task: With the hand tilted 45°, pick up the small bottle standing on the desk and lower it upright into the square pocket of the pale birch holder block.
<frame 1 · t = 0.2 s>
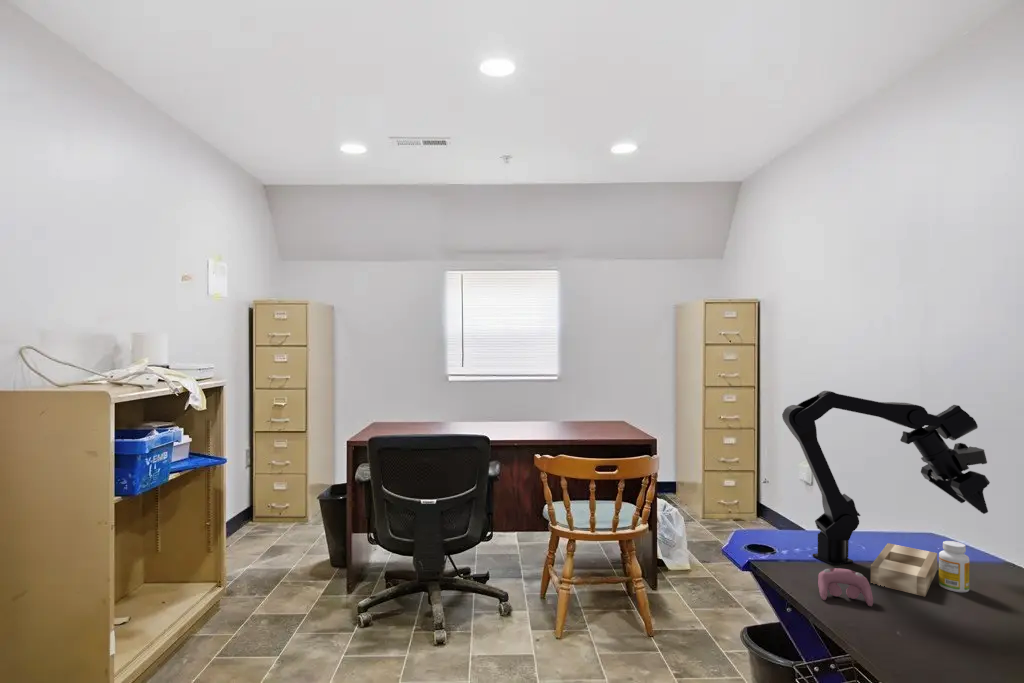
hand: (974, 507, 138), 15 cm above the table, tool tilted 35°, fingers open, 9 cm apart
video game controller: (844, 600, 122), on the table
supplement bottle: (953, 588, 128), on the table
holder block: (904, 576, 134), on the table
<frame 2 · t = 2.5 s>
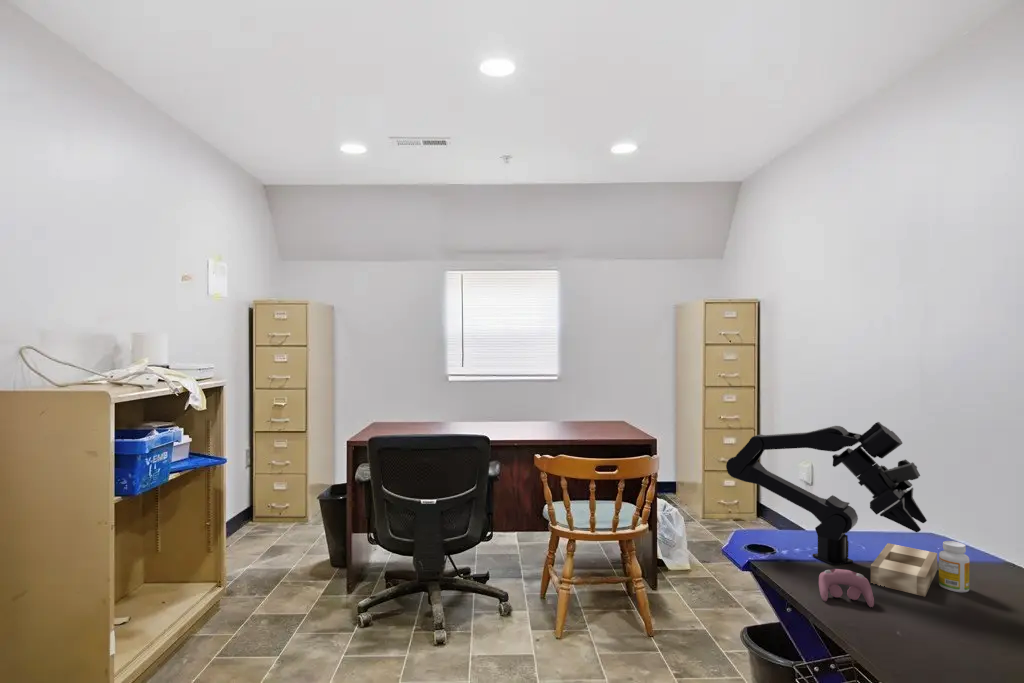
hand: (922, 526, 132), 12 cm above the table, tool tilted 45°, fingers open, 9 cm apart
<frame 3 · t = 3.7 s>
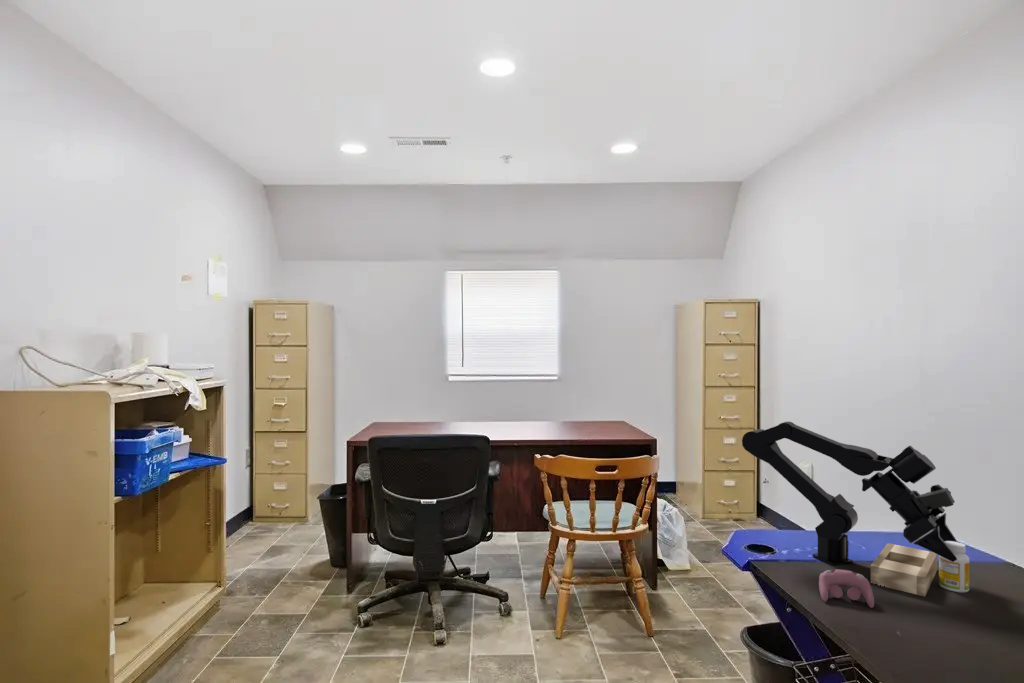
hand: (957, 554, 128), 7 cm above the table, tool tilted 45°, fingers open, 9 cm apart
nothing on the table moved.
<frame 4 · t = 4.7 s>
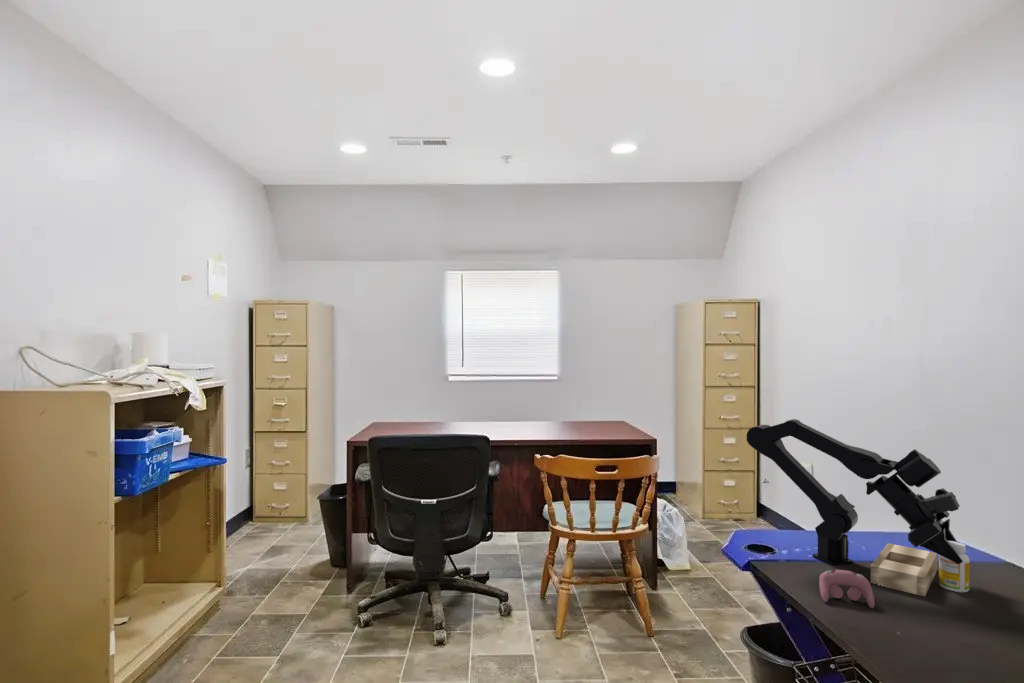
hand: (962, 559, 127), 7 cm above the table, tool tilted 45°, fingers closed on supplement bottle, 5 cm apart
supplement bottle: (953, 588, 128), on the table, touching gripper
everything else where it was.
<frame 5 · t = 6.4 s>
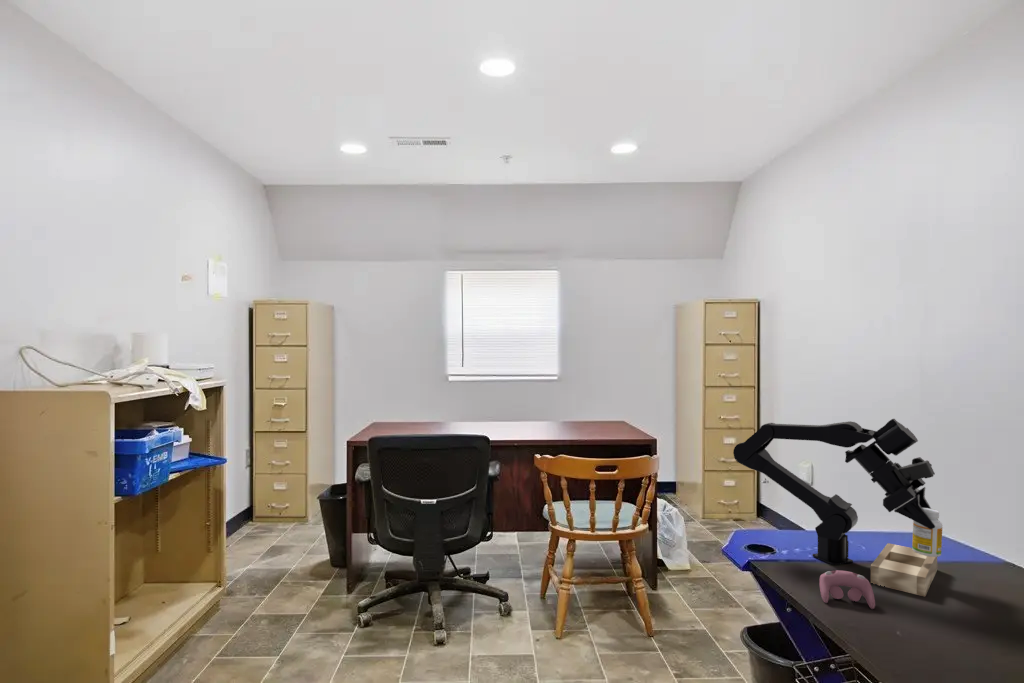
hand: (935, 525, 130), 13 cm above the table, tool tilted 45°, fingers closed on supplement bottle, 5 cm apart
supplement bottle: (926, 553, 131), point 6 cm above the table, touching gripper
when the fingers open (8 cm above the table, at t = 8.4 s): supplement bottle drops 1 cm, resting in holder block.
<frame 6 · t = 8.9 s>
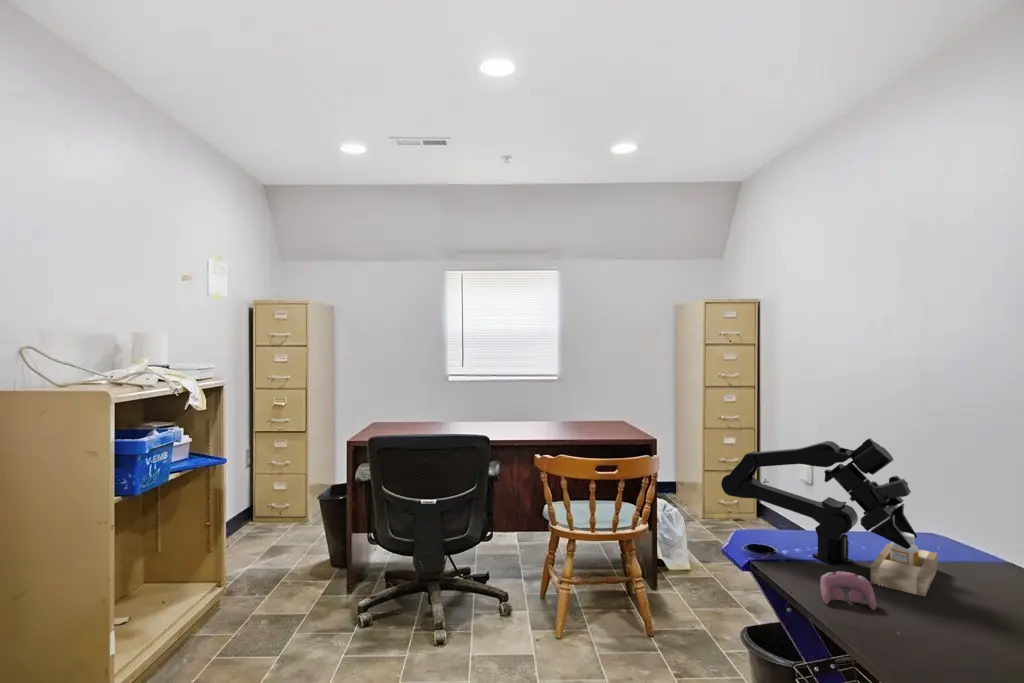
hand: (912, 542, 133), 8 cm above the table, tool tilted 45°, fingers open, 9 cm apart
supplement bottle: (904, 577, 134), resting in holder block
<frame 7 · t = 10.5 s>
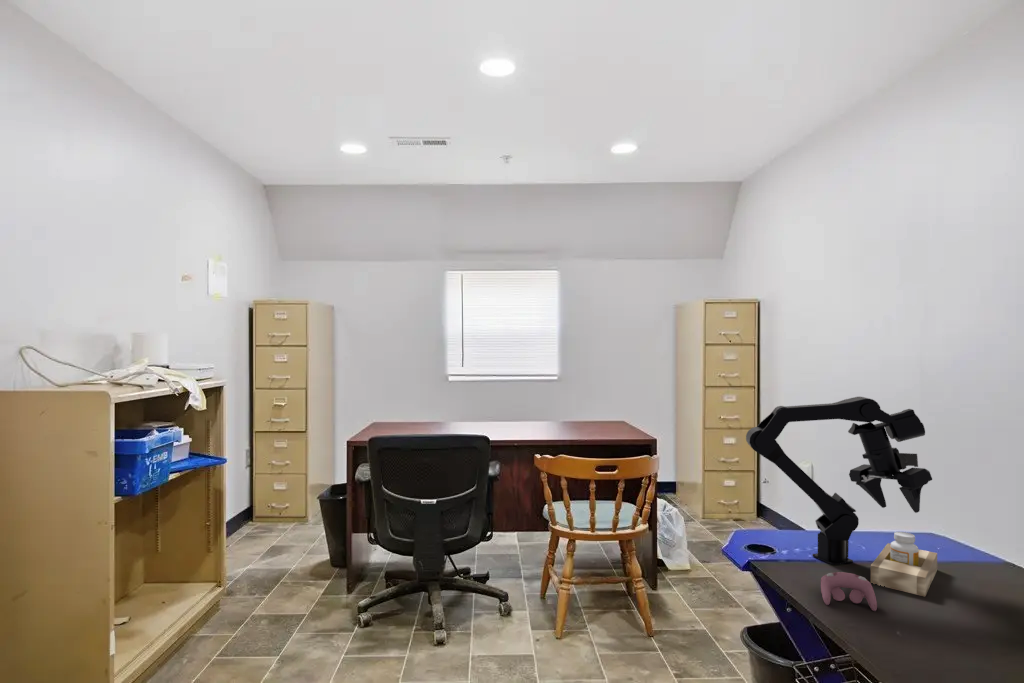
hand: (900, 509, 141), 14 cm above the table, tool tilted 20°, fingers open, 9 cm apart
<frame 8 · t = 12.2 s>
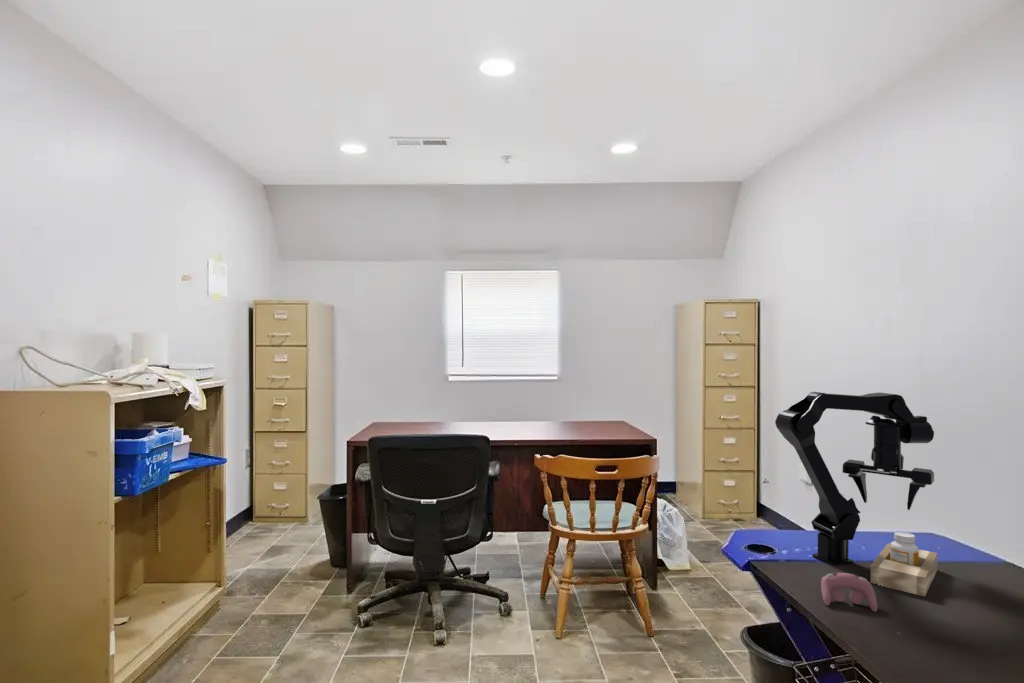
hand: (886, 506, 146), 13 cm above the table, tool pointing down, fingers open, 9 cm apart
at the end: supplement bottle 0.1 cm off-centre on the holder block, point 0.0 cm above the holder block's base; supplement bottle tilted 0°; the gripper is holding nothing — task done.
